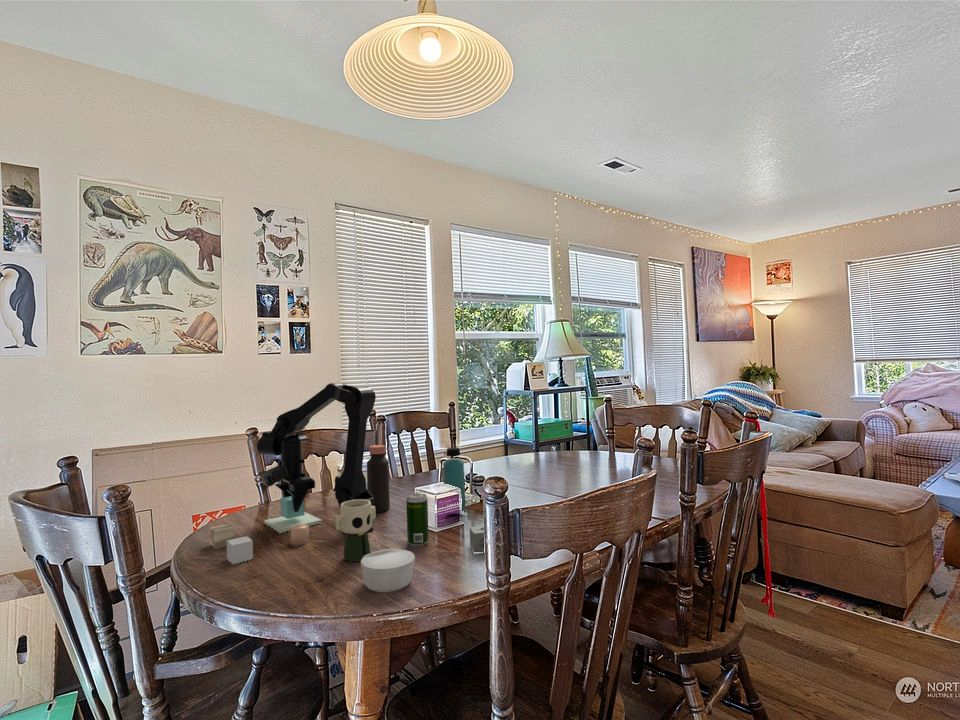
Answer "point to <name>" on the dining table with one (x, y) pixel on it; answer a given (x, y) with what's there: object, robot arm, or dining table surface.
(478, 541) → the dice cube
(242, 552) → the grey plastic block
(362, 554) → the character mug
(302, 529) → the terracotta cylinder
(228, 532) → the birch block
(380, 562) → the ramekin
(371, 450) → the dark water bottle
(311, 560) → the dining table surface
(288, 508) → the teal block
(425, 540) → the beer can
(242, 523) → the dining table surface
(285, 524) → the sage pad
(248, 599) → the dining table surface
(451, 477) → the beverage bottle
